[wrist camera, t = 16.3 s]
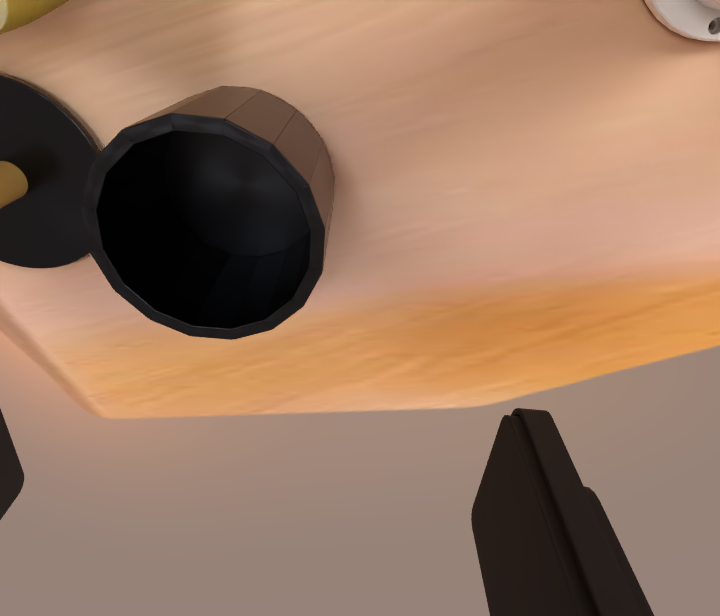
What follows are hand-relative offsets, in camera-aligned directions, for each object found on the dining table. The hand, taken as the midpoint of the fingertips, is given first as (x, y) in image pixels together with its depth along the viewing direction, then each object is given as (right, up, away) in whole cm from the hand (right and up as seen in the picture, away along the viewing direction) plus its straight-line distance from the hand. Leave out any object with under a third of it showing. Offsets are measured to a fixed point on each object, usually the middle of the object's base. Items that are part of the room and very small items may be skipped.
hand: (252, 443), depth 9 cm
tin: (-6, +12, +26) cm, 29 cm away
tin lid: (-22, +12, +25) cm, 36 cm away
